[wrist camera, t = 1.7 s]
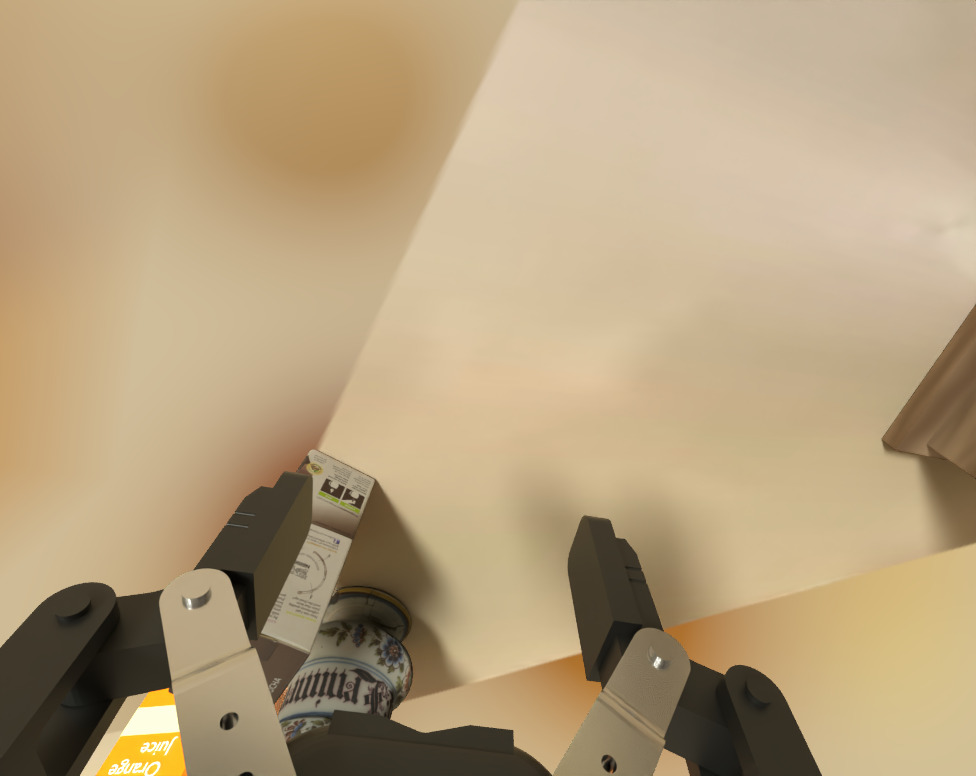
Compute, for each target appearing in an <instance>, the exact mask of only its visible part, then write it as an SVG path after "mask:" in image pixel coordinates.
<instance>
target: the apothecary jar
mask: <svg viewBox="0 0 976 776" xmlns="http://www.w3.org/2000/svg"><path fill="white" fill-rule="evenodd" d="M410 628H411V618H410V615H409V613H408V611H407V609H406V608H405V607H404V605H403V604H402V603H401V602H400V601H398V600H397V599H396V598H394V597H393V596H391V595H389V594H387V593H385V592H382V591H380V590H377V589H373V588H367V587H348V588H343V589H339V590H338V591H337V593H335V595H334V596H333V597H331V600H330V602H329V605H328V608H327V611H326V613H325V616H324V618H323V621H322V624H321V626H320V629H319V631H318V634H317V636H316V639H315V642H314V644H313V647H312V649H311V654H310V655H309V657H308V658H307V660H306V661H305V663H304V664H303V666H302V667H301V668H300V670H299V671H298V672H297V674H296V675H295V676H294V678H293V679H292V681H291V682H290V683H289V685H288V691H287V693H286V696H285V699H284V701H283V704H282V706H281V709H280V711H279V714H278V719H279V723H280V726H281V729H282V732H283V735H284V738H285V741H286V742H287V741H288V740H290V739H292V738H294V737H295V736H297V735H299V734H301V733H304V732H306V731H308V730H311V729H314V728H317V727H321V726H326V725H330V723H331V719H332V716H333V712H334V710H343V711H351V712H360V713H369V714H377V715H381V716H383V717H386V718H388V719H390V718H391V714H392V711H393V710H394V709H395V708H397V707H398V706H399V705H400V703H401V702H402V701H403V700H404V699H405V697H406V696H407V694H408V692H409V690H410V687H411V683H412V678H413V667H412V662H411V658H410V656H409V654H408V652H407V650H406V648H405V647H404V646H403V644H402V643H401V642H402V641H403V640H404V639H405V638H406V636H407V635H408V633H409V631H410Z"/></svg>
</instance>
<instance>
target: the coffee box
mask: <svg viewBox="0 0 976 776" xmlns="http://www.w3.org/2000/svg"><path fill="white" fill-rule="evenodd" d="M296 473H300V474H307V475H312V477H313V503H312V521H311V526H310V530H309V533H308V536H307V538H306V540H305V542H304V544H303V547H302V549H301V551H300V553H299V555H298V557H297V559H296V561H295V563H294V565H293V567H292V569H291V572H290V574H289V576H288V578H287V580H286V582H285V584H284V586H283V588H282V590H281V592H280V594H279V597H278V599H277V601H276V603H275V605H274V607H273V609H272V611H271V613H270V615H269V617H268V619H267V622H266V624H265V626H264V628H263V630H262V632H261V634H260V636H259V638H258V640H257V641H256V640H249V642H250V645H251V647H253V646H254V647H255V649H256V651H257V654H258V656H259V659H260V663H261V666H262V669H263V672H264V675H265V678H266V682H267V685H268V688H269V691H270V694H271V697H272V700H273V704H275V703H276V701H277V700H278V698H279V697H280V696H281V694H282V693H283V692H284V690H285V689H286V688H287V686H288V685H289V683H290V682H291V681H292V679H293V678H294V676H295V675H296V674H297V672H298V671H299V670H300V668H301V667H302V666H303V664H304V663H305V661H306V660H307V658H308V657H309V655H310V654H311V649H312V647H313V644H314V642H315V639H316V636H317V634H318V631H319V629H320V626H321V624H322V621H323V618H324V616H325V613H326V611H327V608H328V605H329V602H330V600H331V597H332V594H333V592H334V589H335V587H336V584H337V581H338V578H339V576H340V573H341V571H342V568H343V565H344V563H345V560H346V557H347V555H348V552H349V549H350V547H351V544H352V541H353V538H354V536H355V533H356V530H357V528H358V525H359V523H360V520H361V517H362V514H363V512H364V509H365V506H366V504H367V501H368V498H369V496H370V493H371V491H372V488H373V485H374V483H375V480H374V479H373V478H371V477H369V476H367V475H365V474H363V473H361V472H359V471H357V470H355V469H353V468H351V467H349V466H347V465H345V464H343V463H341V462H339V461H337V460H335V459H333V458H331V457H329V456H327V455H325V454H323V453H321V452H319V451H317V450H314V449H313V450H310V452H309V453H308V455H307V456H306V458H305V459H304V461H303V462H302V464H301V465H300V467H299V468H298V470H297V471H296ZM168 692H169V693H171V694H173V689H172V688H169V690H168Z"/></svg>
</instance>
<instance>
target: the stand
mask: <svg viewBox="0 0 976 776" xmlns="http://www.w3.org/2000/svg"><path fill="white" fill-rule="evenodd" d="M882 440H883V441H885V442H886V443H887V444H888V445H890V446H891V447H892V448H894V449H895V450H899V451H904V452H909V453H915V454H920V455H925V456H930V457H935V458H941V459H946V460H950V461H951V462H953V463H954V464H955V465H957V466H958V467H960V468H961V469H963V470H964V471H965V472H967V473H968V474H970V475H971V476H972V477H974V478H975V479H976V305H975V307H974V308H973V309H972V311H971V312H970V314H969V315H968V317H967V318H966V319H965V321H964V322H963V324H962V325H961V327H960V328H959V329H958V331H957V332H956V334H955V335H954V337H953V338H952V339H951V341H950V342H949V344H948V345H947V347H946V348H945V349H944V351H943V352H942V354H941V355H940V357H939V358H938V359H937V361H936V362H935V364H934V365H933V367H932V368H931V369H930V371H929V372H928V374H927V375H926V377H925V378H924V380H923V381H922V382H921V384H920V385H919V387H918V388H917V390H916V391H915V392H914V394H913V395H912V397H911V398H910V400H909V401H908V402H907V404H906V405H905V407H904V408H903V410H902V411H901V412H900V414H899V415H898V417H897V418H896V420H895V421H894V422H893V424H892V425H891V427H890V428H889V430H888V431H887V432H886V434H885V435H884V437H883V438H882Z"/></svg>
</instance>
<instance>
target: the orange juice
mask: <svg viewBox="0 0 976 776" xmlns="http://www.w3.org/2000/svg"><path fill="white" fill-rule="evenodd" d="M168 690H169V688H168V689H163V690H158V691H153V692H149V693H148V695H147V696H146V698H145V699H144V701H143V702H142V704H141V706H140V707H139V708H138V709H137V711H136V712H135V714H134V715H133V717H132V719H131V720H130V722H129V723H128V725H127V726H126V728H125V730H124V731H123V733H122V734H121V737H120V738H119V740H118V742H117V743H116V745H115V746H114V748H113V749H112V751H111V753H110V754H109V756H108V757H107V759H106V760H105V762H104V764H103V765H102V767H101V768H100V770H99V771H98V773H97V775H96V776H187V774H186V768H185V762H184V756H183V750H182V744H181V738H180V732H179V726H178V719H177V713H176V707H175V701H174V695H173V694H171V693H169V692H168Z"/></svg>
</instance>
